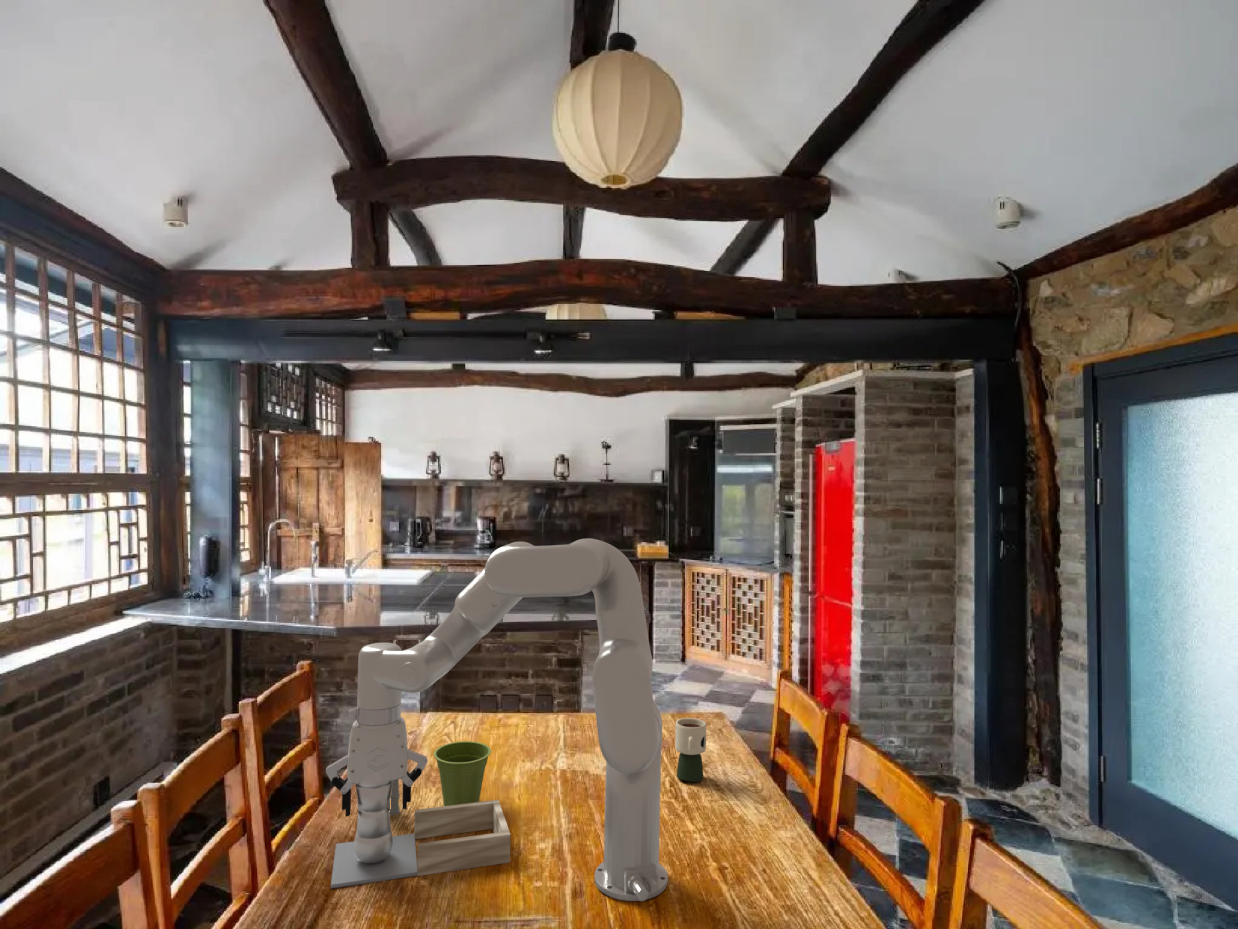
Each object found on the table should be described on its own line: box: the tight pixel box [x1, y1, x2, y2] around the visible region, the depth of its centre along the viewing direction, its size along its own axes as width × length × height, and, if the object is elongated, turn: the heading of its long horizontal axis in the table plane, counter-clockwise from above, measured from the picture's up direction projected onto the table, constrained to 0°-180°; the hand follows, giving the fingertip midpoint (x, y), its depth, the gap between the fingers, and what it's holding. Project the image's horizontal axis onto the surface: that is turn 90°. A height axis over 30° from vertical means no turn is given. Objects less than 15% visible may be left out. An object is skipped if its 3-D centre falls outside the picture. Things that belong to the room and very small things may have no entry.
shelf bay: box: [413, 799, 511, 877], centre depth 133 cm, size 14×16×5 cm
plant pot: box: [433, 740, 492, 806], centre depth 151 cm, size 12×12×11 cm
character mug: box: [674, 717, 707, 783], centre depth 166 cm, size 11×7×13 cm, turn 175°
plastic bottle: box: [354, 770, 393, 863], centre depth 128 cm, size 6×7×20 cm
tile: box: [330, 833, 418, 889], centre depth 129 cm, size 14×14×1 cm
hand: (376, 809), depth 129 cm, fingers open, 9 cm apart
